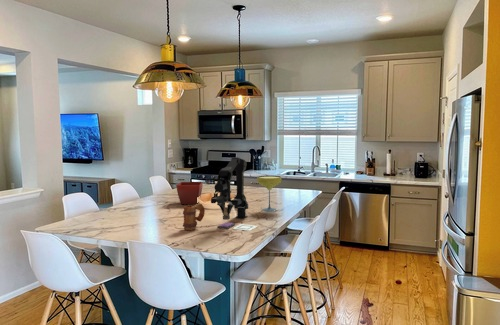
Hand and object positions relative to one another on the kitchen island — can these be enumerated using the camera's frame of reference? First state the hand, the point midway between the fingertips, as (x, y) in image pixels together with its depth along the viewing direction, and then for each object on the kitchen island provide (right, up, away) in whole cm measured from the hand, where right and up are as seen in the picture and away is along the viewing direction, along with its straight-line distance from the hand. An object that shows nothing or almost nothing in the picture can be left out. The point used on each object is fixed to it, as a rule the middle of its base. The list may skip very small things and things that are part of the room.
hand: (226, 214), depth 228 cm
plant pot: (-35, -2, +79) cm, 86 cm away
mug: (-19, -8, -4) cm, 21 cm away
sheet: (+12, -7, -3) cm, 14 cm away
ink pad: (0, -7, 0) cm, 7 cm away
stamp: (0, -3, 0) cm, 2 cm away
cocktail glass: (+29, -3, +49) cm, 57 cm away
